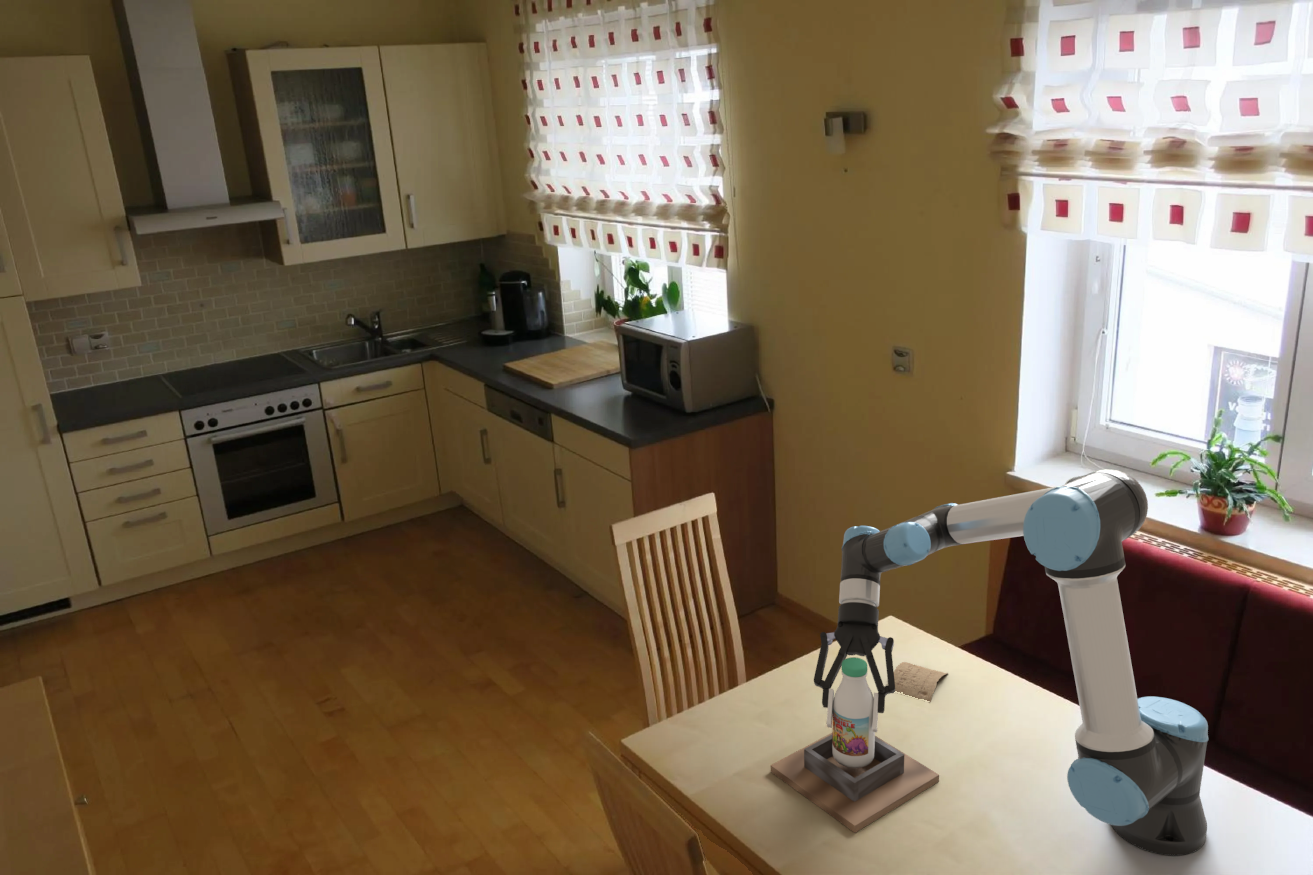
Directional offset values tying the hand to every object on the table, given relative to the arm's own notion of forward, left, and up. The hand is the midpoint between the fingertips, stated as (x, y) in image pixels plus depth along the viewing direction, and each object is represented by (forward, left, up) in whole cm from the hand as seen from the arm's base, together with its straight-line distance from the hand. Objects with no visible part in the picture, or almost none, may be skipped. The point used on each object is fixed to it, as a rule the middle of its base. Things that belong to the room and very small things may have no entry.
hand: (851, 727), depth 185 cm
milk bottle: (+2, -3, -9) cm, 9 cm away
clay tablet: (+16, -37, -14) cm, 42 cm away
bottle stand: (+2, -3, -13) cm, 13 cm away
